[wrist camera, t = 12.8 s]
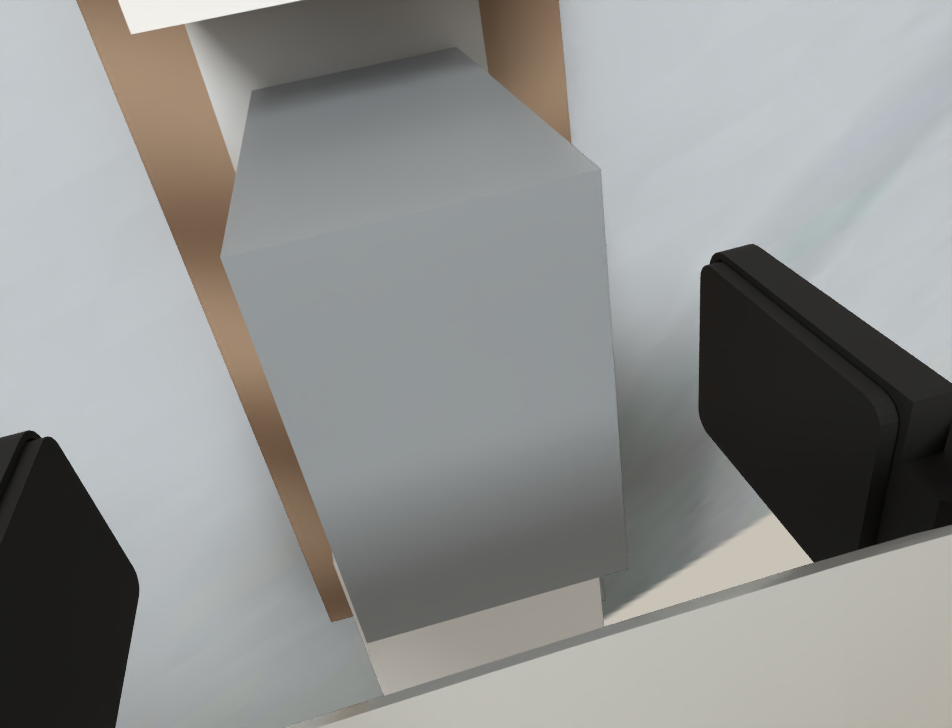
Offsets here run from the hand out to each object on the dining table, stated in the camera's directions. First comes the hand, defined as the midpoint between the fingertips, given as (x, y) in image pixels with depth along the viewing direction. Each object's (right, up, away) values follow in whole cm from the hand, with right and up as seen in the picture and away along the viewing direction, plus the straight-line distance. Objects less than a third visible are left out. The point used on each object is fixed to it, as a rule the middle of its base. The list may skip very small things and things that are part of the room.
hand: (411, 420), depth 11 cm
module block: (-1, +4, +7) cm, 8 cm away
